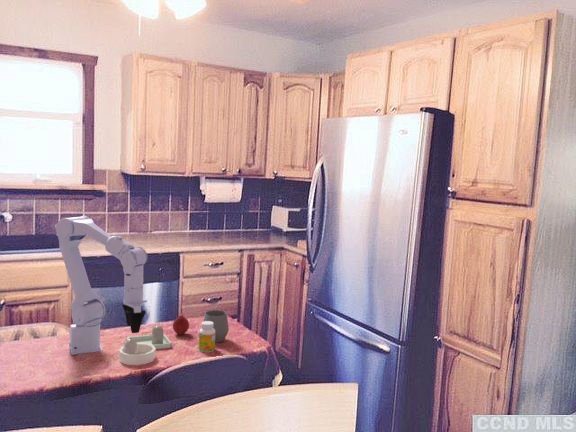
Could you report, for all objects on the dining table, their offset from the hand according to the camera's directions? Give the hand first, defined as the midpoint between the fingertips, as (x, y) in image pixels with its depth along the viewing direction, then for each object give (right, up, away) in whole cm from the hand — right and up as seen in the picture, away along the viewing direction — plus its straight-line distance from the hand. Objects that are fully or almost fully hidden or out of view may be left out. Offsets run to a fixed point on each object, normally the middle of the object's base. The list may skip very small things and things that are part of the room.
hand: (133, 328), depth 171 cm
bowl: (+1, -10, +1) cm, 10 cm away
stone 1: (-1, -9, 0) cm, 9 cm away
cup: (+23, -9, +22) cm, 33 cm away
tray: (+1, -9, +14) cm, 16 cm away
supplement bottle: (+21, -10, +11) cm, 26 cm away
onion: (+10, -8, +26) cm, 29 cm away
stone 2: (+4, -8, +15) cm, 17 cm away
